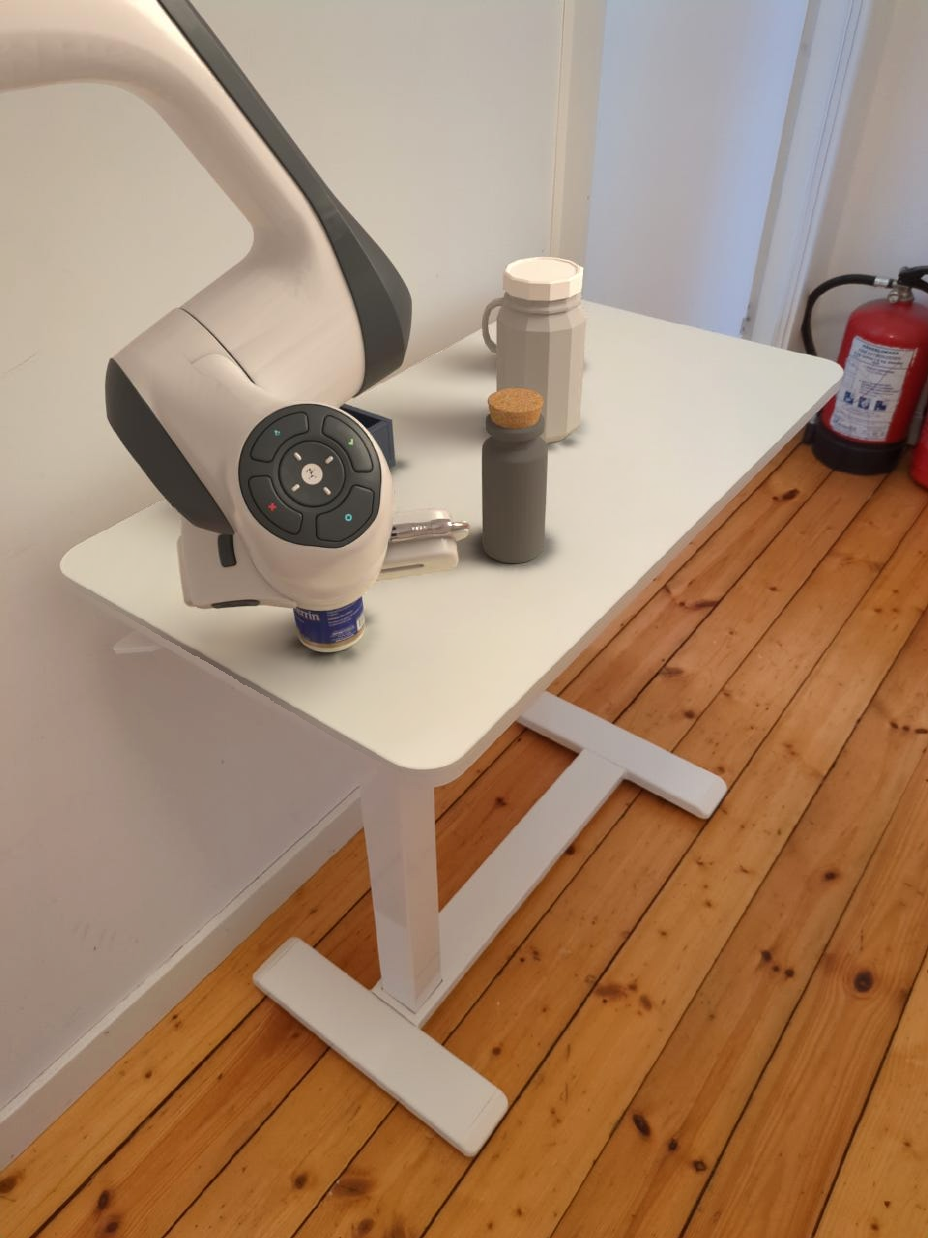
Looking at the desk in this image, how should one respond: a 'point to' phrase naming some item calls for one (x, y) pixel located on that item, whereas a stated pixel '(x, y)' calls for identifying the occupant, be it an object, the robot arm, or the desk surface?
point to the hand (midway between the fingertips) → (323, 576)
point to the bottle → (514, 476)
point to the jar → (543, 338)
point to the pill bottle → (331, 627)
